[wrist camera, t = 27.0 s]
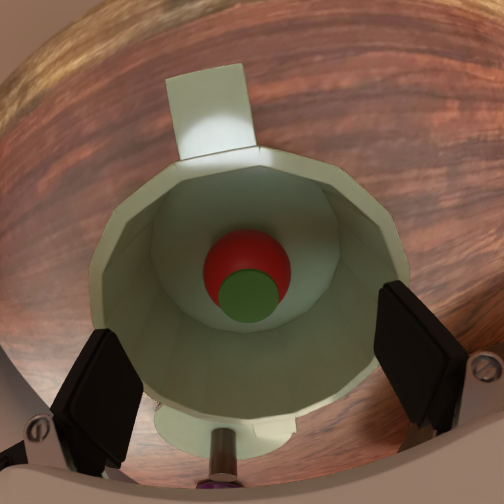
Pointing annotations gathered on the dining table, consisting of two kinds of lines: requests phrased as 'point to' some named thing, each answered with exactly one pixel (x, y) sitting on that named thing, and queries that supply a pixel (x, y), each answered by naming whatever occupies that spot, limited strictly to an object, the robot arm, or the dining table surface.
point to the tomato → (247, 274)
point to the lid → (214, 441)
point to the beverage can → (217, 485)
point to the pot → (202, 239)
